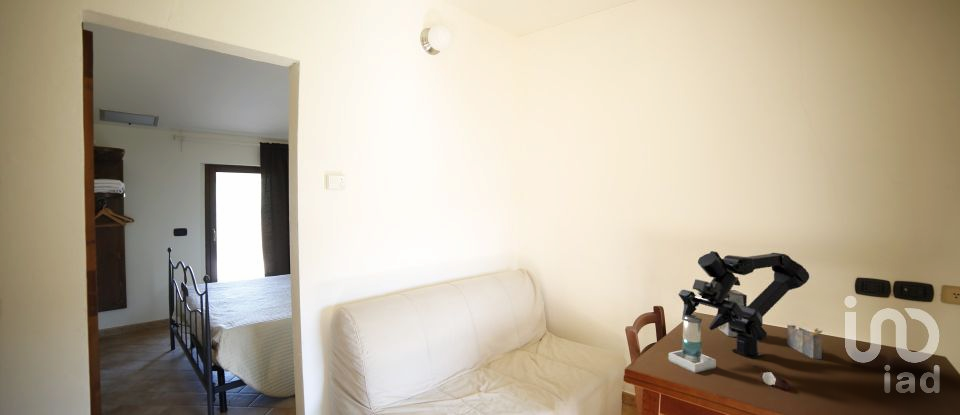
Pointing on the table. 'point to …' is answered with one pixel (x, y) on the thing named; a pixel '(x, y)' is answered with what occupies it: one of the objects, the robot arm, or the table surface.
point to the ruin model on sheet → (805, 341)
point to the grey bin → (694, 367)
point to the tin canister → (691, 338)
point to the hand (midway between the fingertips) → (696, 324)
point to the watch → (774, 380)
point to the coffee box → (740, 300)
